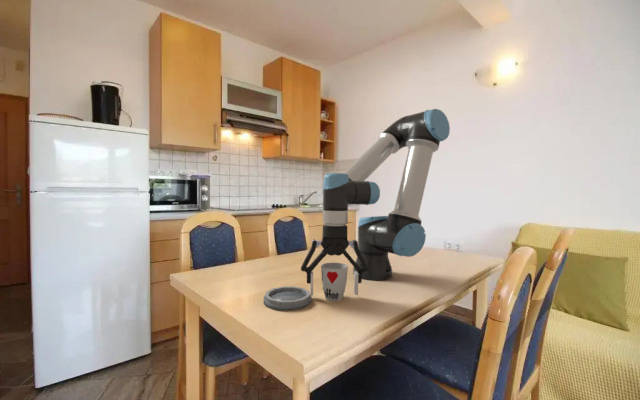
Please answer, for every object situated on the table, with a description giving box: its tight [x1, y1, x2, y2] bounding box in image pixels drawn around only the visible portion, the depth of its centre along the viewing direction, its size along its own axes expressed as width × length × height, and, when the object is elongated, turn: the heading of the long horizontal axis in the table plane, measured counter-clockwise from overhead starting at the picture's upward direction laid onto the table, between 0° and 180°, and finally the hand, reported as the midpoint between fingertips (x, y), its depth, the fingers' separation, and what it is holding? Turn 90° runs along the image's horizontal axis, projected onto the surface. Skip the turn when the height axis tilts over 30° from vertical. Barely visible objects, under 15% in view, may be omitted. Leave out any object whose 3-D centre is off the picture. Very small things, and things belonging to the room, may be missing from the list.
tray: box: [263, 285, 312, 312], centre depth 87 cm, size 14×14×2 cm
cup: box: [320, 262, 349, 302], centre depth 89 cm, size 8×8×10 cm
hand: (333, 293), depth 89 cm, fingers open, 13 cm apart
